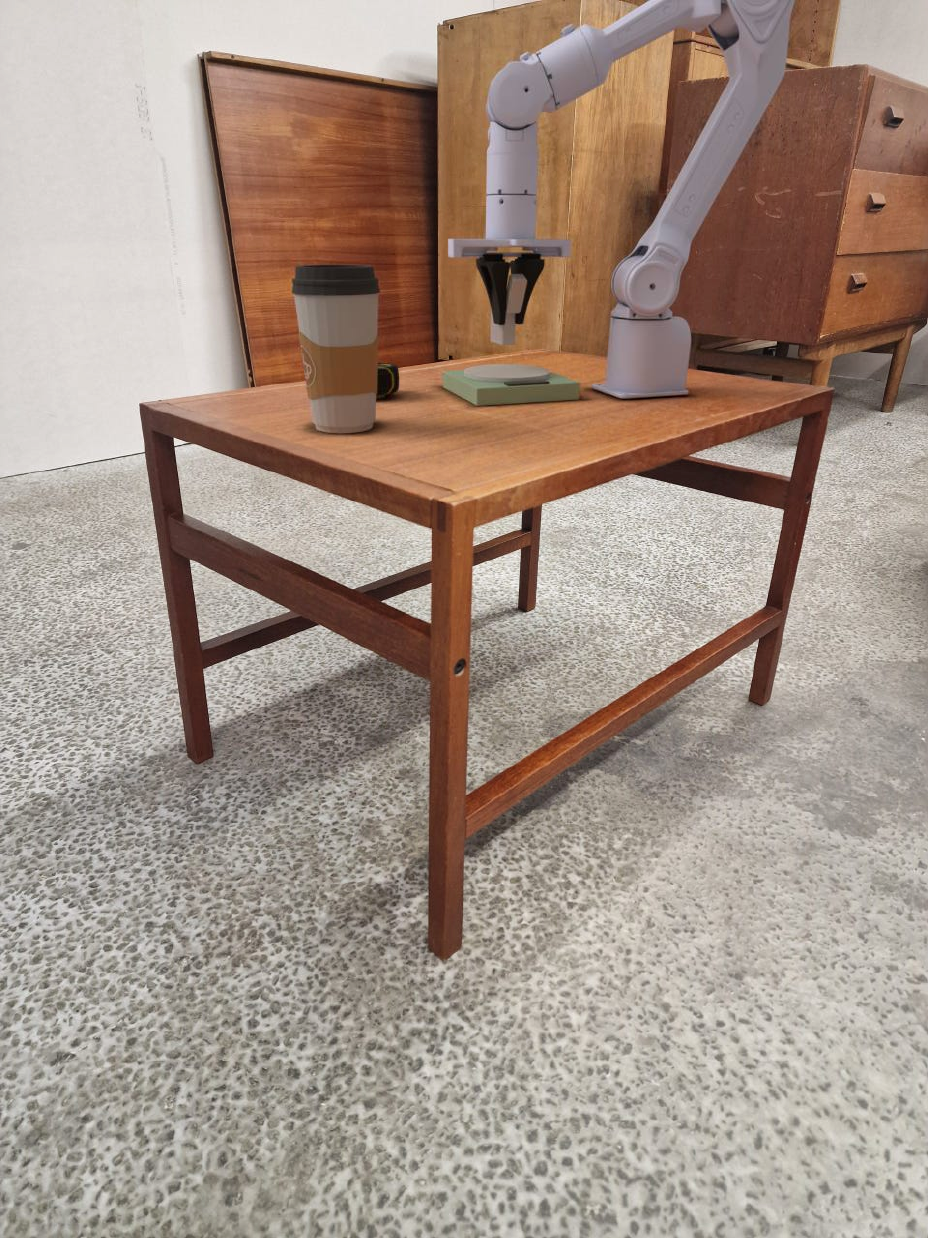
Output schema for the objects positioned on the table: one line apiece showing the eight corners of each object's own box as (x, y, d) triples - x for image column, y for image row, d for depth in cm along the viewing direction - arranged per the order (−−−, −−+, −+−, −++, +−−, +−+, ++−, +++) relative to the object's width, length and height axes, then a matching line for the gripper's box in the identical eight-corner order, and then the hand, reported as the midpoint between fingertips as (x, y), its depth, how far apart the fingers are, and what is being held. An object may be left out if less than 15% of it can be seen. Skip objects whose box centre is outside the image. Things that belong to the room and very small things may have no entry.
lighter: (489, 340, 100) (491, 271, 97) (502, 340, 101) (504, 271, 97) (511, 348, 94) (513, 274, 91) (524, 347, 95) (527, 274, 91)
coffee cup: (294, 421, 84) (280, 264, 77) (371, 415, 87) (364, 263, 80) (314, 439, 77) (300, 268, 70) (396, 431, 80) (391, 267, 73)
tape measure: (389, 390, 101) (387, 358, 99) (407, 399, 95) (406, 366, 93) (336, 393, 98) (334, 361, 96) (352, 403, 92) (350, 370, 91)
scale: (535, 381, 106) (536, 361, 105) (579, 399, 95) (580, 377, 94) (442, 386, 103) (442, 365, 102) (476, 406, 92) (476, 382, 90)
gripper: (462, 193, 85) (461, 329, 91) (585, 195, 89) (577, 325, 95) (442, 195, 91) (442, 322, 97) (558, 197, 95) (552, 319, 101)
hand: (508, 323), depth 96 cm, fingers closed on lighter, 2 cm apart
